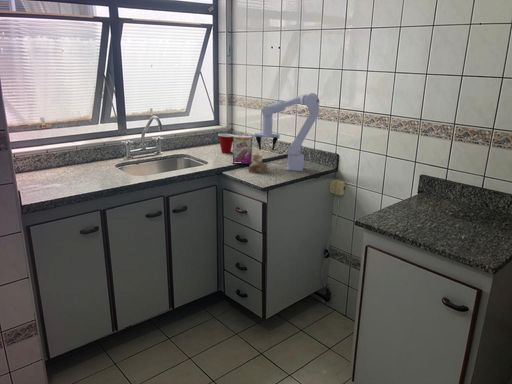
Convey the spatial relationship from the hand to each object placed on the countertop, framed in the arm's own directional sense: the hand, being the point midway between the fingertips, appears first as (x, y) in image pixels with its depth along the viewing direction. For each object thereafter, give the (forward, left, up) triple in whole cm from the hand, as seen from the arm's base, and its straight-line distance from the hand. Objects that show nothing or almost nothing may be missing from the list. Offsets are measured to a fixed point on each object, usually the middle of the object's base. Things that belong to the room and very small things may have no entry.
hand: (266, 149), depth 241 cm
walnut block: (+3, +10, -10) cm, 15 cm away
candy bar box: (+15, -3, -10) cm, 18 cm away
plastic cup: (+30, -26, -10) cm, 41 cm away
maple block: (+4, +10, -6) cm, 12 cm away
